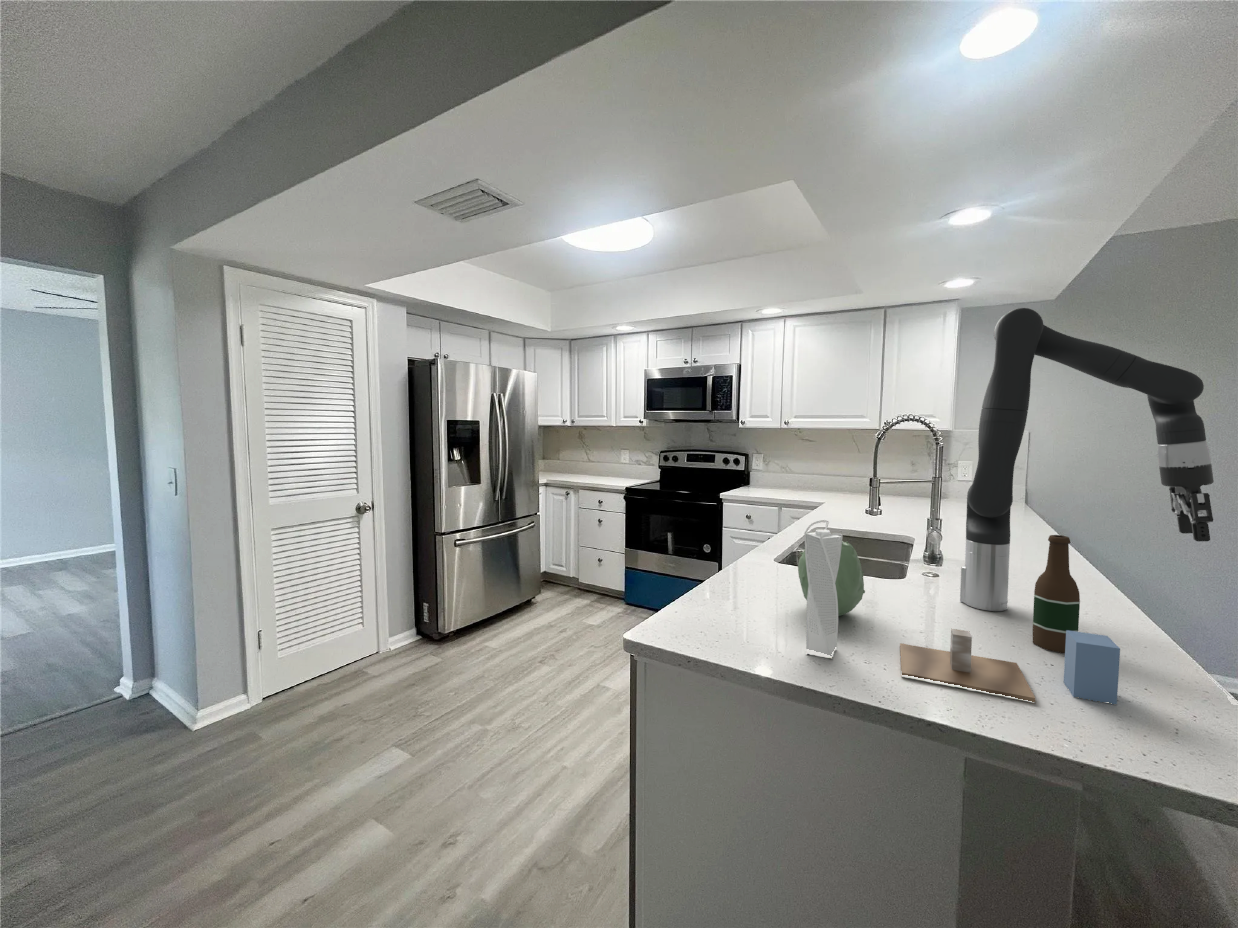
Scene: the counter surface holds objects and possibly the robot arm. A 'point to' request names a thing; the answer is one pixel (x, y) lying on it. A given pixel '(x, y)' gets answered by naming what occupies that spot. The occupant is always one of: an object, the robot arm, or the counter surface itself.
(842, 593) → the cabbage
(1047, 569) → the beer bottle
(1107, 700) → the pale blue tall block
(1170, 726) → the counter surface
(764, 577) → the counter surface
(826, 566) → the skyscraper
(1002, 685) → the post stand
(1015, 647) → the counter surface
